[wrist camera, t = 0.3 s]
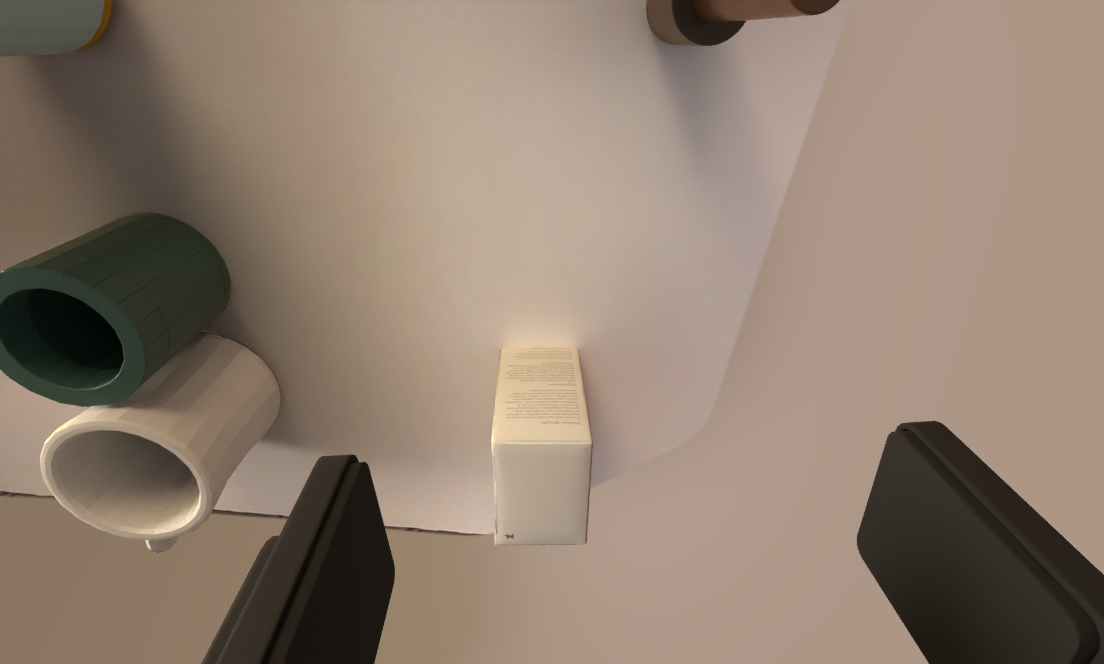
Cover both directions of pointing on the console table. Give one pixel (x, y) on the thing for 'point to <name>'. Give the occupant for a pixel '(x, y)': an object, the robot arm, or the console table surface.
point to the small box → (541, 449)
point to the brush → (720, 17)
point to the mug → (164, 444)
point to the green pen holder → (108, 308)
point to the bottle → (51, 25)
